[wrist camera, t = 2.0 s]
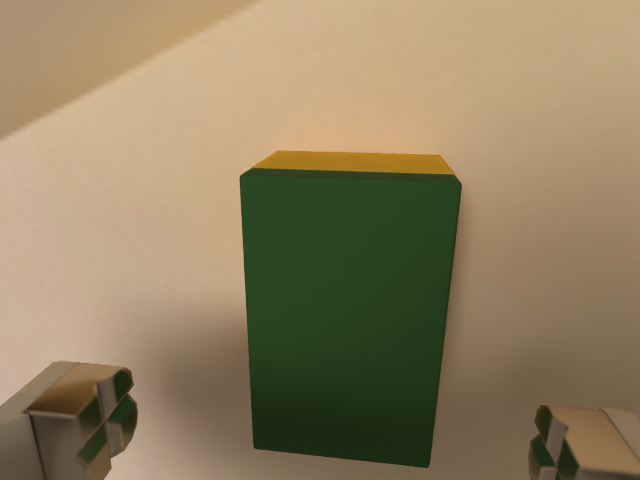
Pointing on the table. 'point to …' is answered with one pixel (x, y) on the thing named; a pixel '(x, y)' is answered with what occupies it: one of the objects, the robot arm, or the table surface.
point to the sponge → (347, 301)
